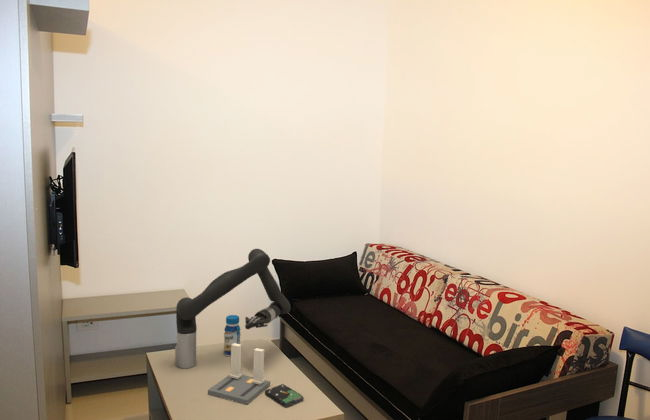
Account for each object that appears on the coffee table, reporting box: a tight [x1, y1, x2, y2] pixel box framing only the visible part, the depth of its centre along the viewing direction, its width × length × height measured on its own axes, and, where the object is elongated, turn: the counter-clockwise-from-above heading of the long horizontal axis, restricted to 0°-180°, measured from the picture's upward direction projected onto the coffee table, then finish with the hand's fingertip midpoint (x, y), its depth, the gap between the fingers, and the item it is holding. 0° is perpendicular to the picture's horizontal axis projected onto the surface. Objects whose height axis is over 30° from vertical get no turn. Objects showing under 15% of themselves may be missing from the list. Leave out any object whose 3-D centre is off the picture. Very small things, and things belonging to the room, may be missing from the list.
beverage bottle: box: [223, 314, 241, 357], centre depth 274 cm, size 8×8×20 cm
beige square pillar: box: [229, 343, 243, 379], centre depth 243 cm, size 4×4×15 cm
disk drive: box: [264, 383, 305, 409], centre depth 231 cm, size 10×3×15 cm
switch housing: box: [207, 374, 271, 405], centre depth 236 cm, size 20×20×2 cm
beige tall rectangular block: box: [252, 347, 265, 385], centre depth 238 cm, size 4×4×15 cm
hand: (246, 327), depth 249 cm, fingers closed
